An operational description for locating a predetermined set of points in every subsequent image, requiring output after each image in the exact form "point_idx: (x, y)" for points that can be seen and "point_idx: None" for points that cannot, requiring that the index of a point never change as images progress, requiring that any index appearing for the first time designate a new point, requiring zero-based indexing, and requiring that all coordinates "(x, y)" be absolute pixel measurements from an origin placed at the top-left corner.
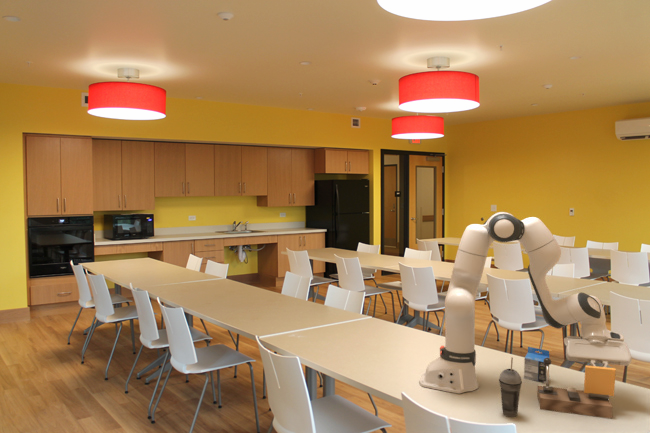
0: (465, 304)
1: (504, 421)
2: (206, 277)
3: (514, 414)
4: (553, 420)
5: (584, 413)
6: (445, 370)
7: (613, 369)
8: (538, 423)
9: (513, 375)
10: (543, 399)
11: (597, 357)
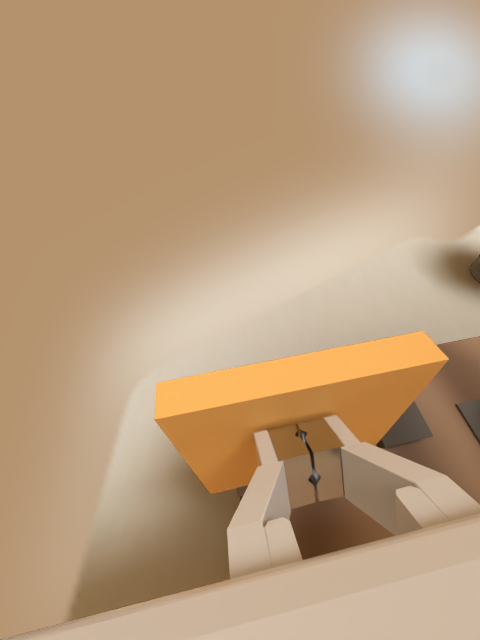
0: None
1: (473, 238)
2: None
3: (477, 258)
4: (381, 297)
5: None
6: None
7: (177, 387)
8: (404, 264)
9: None
10: (472, 338)
11: (418, 549)
